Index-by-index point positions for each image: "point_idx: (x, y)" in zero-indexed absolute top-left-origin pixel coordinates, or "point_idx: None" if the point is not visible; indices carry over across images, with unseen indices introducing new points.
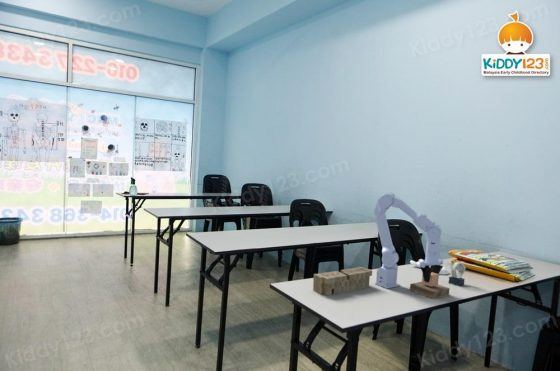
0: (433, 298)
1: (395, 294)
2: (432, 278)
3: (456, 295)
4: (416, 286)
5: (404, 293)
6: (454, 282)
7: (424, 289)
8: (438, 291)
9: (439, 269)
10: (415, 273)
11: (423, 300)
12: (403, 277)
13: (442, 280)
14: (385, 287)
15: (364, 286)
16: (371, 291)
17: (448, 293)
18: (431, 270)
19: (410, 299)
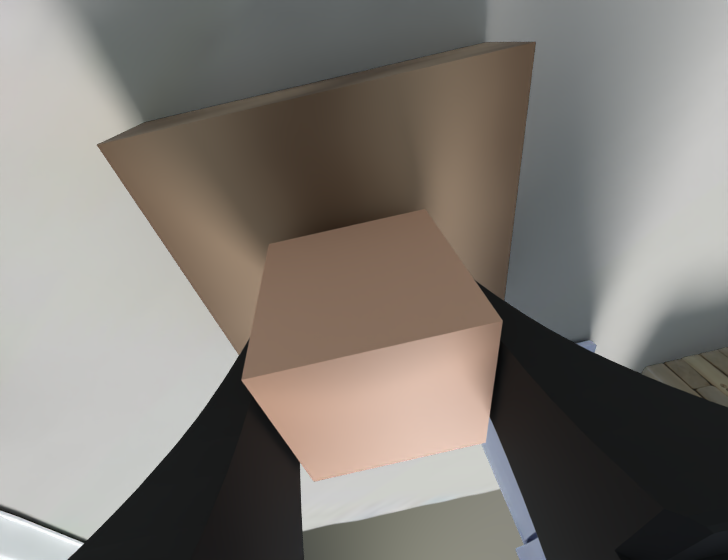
0: (474, 45)
1: (666, 245)
2: (454, 281)
3: (18, 69)
4: (504, 286)
5: (583, 252)
6: None
7: (512, 197)
8: (398, 72)
9: (188, 527)
10: None
11: (637, 31)
12: None
13: (15, 436)
14: (591, 350)
15: (696, 364)
16: (723, 312)
17: (147, 124)
18: (668, 441)
19: (711, 107)
